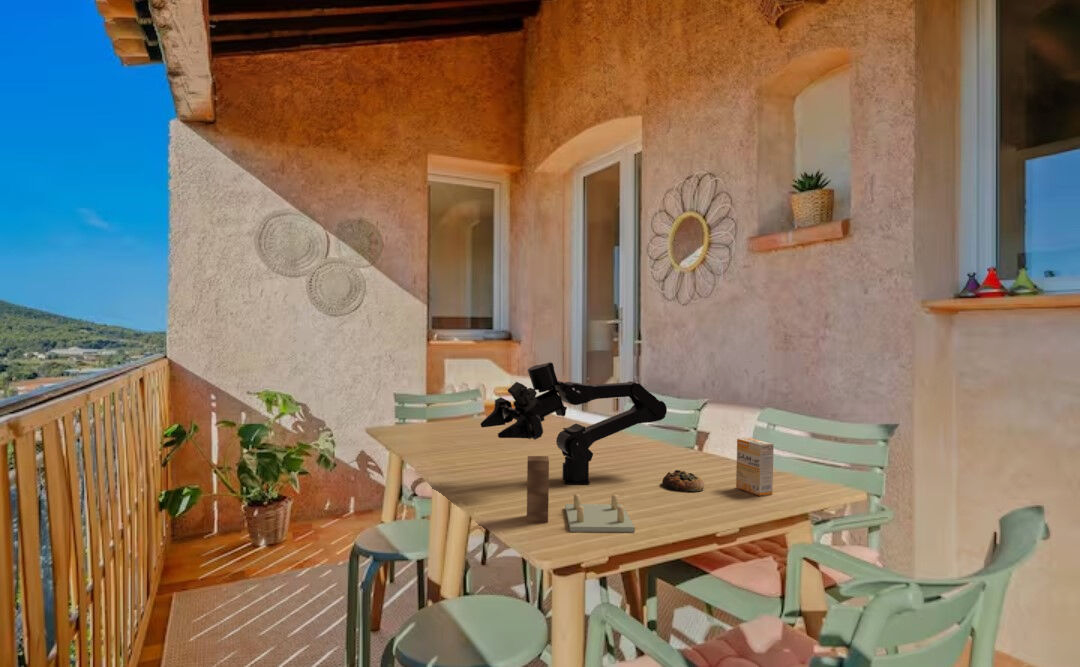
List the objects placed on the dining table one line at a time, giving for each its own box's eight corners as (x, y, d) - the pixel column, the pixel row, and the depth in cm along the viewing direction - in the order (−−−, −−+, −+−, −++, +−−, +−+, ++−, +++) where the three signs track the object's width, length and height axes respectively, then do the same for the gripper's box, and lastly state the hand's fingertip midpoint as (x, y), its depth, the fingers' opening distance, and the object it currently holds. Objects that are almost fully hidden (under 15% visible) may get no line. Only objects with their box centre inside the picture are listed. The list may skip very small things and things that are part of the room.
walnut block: (547, 515, 122) (548, 456, 122) (548, 522, 118) (548, 460, 118) (526, 515, 122) (527, 456, 122) (526, 522, 118) (527, 460, 118)
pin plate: (622, 508, 128) (622, 491, 128) (634, 532, 113) (634, 512, 113) (565, 508, 128) (565, 490, 128) (570, 531, 113) (570, 511, 113)
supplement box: (735, 488, 147) (735, 438, 147) (748, 486, 149) (749, 437, 149) (759, 496, 139) (760, 444, 139) (773, 494, 141) (774, 442, 141)
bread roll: (654, 486, 147) (656, 467, 147) (673, 484, 155) (675, 466, 156) (694, 496, 140) (696, 476, 140) (711, 493, 148) (713, 474, 149)
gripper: (516, 371, 153) (465, 392, 145) (554, 386, 137) (500, 411, 130) (524, 408, 156) (475, 430, 148) (563, 427, 140) (510, 453, 133)
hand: (489, 430), depth 140 cm, fingers open, 9 cm apart
